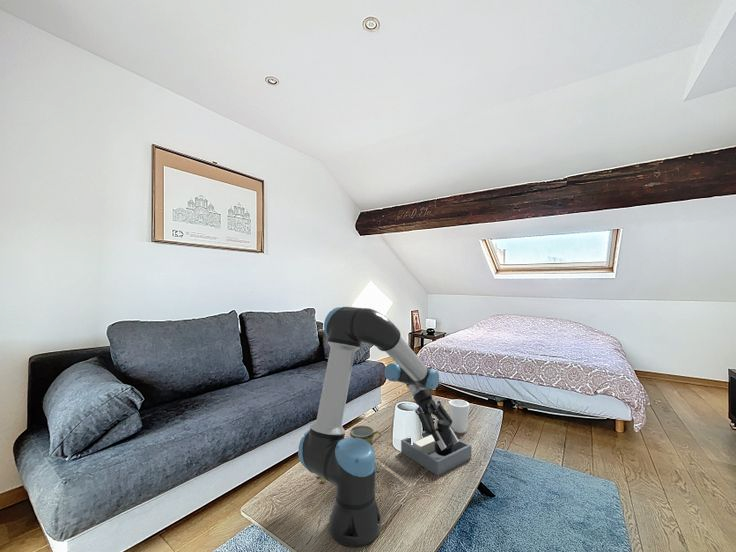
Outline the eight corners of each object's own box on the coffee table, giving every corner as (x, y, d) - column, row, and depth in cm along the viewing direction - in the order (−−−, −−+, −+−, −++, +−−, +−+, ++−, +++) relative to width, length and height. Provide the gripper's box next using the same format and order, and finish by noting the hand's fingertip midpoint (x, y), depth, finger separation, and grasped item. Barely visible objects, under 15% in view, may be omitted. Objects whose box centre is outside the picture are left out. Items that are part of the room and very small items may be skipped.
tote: (437, 478, 115) (437, 462, 115) (401, 454, 131) (401, 440, 132) (471, 460, 127) (471, 445, 127) (434, 440, 143) (433, 427, 143)
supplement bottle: (452, 457, 122) (452, 426, 122) (434, 456, 124) (434, 425, 124) (451, 448, 129) (451, 419, 129) (434, 446, 130) (434, 417, 131)
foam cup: (447, 425, 159) (447, 399, 159) (466, 425, 158) (465, 399, 159) (451, 434, 149) (451, 406, 150) (471, 434, 149) (471, 406, 149)
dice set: (323, 484, 113) (323, 479, 113) (315, 478, 117) (315, 473, 117) (334, 479, 116) (334, 473, 116) (327, 472, 120) (327, 467, 120)
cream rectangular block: (420, 457, 128) (420, 447, 128) (412, 451, 132) (412, 442, 132) (440, 448, 135) (440, 438, 135) (432, 443, 139) (432, 434, 139)
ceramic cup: (349, 461, 126) (349, 436, 127) (350, 448, 136) (350, 425, 137) (381, 460, 127) (381, 435, 127) (379, 448, 137) (379, 424, 137)
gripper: (431, 392, 145) (460, 442, 131) (399, 401, 133) (427, 458, 120) (440, 383, 141) (471, 434, 127) (407, 392, 129) (438, 449, 116)
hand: (450, 445), depth 124 cm, fingers closed on supplement bottle, 7 cm apart
